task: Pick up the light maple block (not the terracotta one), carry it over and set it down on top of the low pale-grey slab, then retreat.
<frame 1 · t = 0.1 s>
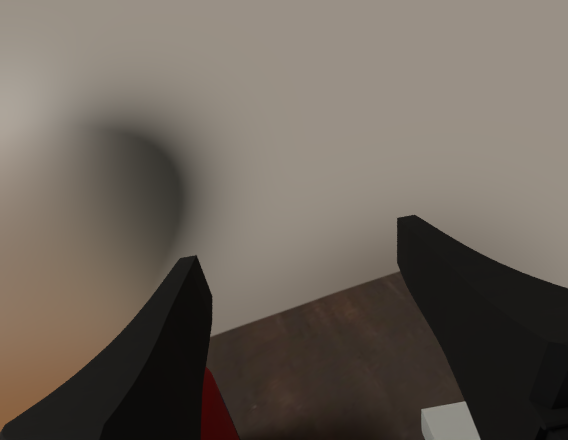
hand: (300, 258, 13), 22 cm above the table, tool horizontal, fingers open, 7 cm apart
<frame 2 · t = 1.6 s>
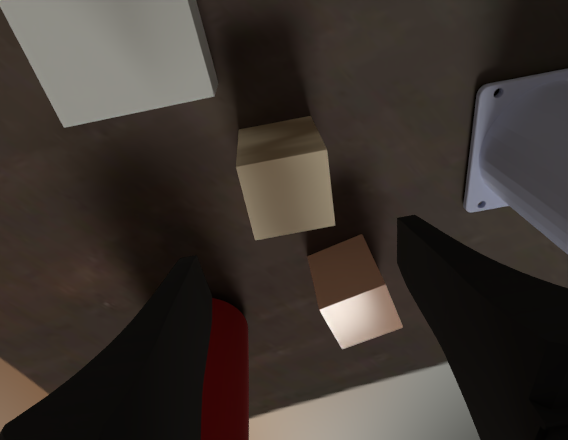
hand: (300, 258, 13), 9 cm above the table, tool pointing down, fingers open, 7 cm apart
terracotta block: (343, 265, 26), on the table
beverage can: (204, 319, 28), on the table
maple block: (280, 156, 21), on the table
grey slab: (125, 20, 17), on the table
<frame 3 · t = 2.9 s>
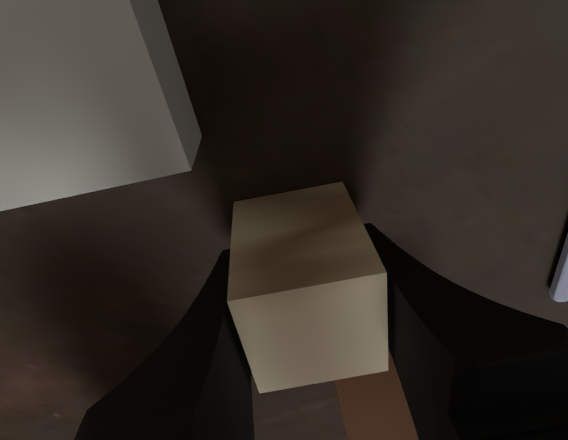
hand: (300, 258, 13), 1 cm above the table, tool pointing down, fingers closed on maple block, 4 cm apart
terracotta block: (377, 362, 19), on the table
maple block: (295, 236, 14), on the table, touching gripper
grey slab: (45, 41, 10), on the table
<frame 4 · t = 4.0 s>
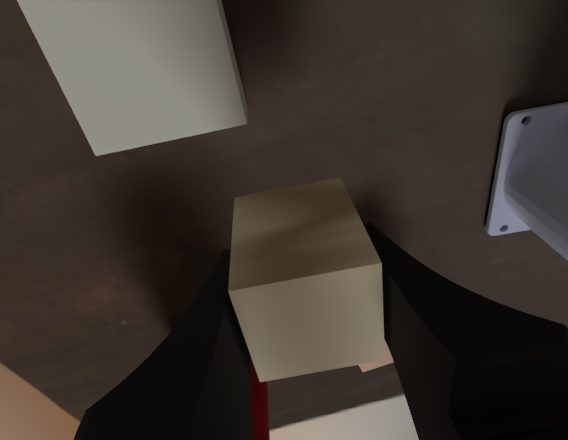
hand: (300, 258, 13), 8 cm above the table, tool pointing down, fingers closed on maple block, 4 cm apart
beverage can: (220, 337, 28), on the table
maple block: (295, 231, 15), point 7 cm above the table, touching gripper
grey slab: (156, 47, 17), on the table
when the fingers open (6 cm above the table, at t = 5.2 s): maple block drops 1 cm, resting on grey slab.
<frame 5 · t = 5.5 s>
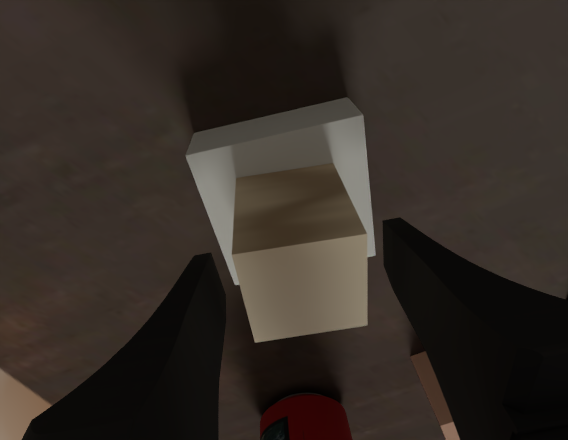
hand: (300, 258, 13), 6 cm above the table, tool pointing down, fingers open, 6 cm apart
terracotta block: (441, 362, 27), on the table
beverage can: (301, 408, 29), on the table
maple block: (290, 211, 16), point 3 cm above the table, touching grey slab
grey slab: (285, 180, 18), on the table, touching maple block
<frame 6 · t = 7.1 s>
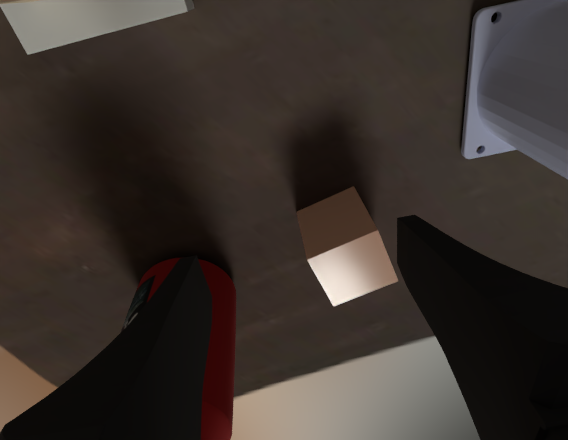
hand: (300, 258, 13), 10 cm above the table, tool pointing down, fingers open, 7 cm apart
terracotta block: (335, 222, 24), on the table
beverage can: (189, 285, 26), on the table
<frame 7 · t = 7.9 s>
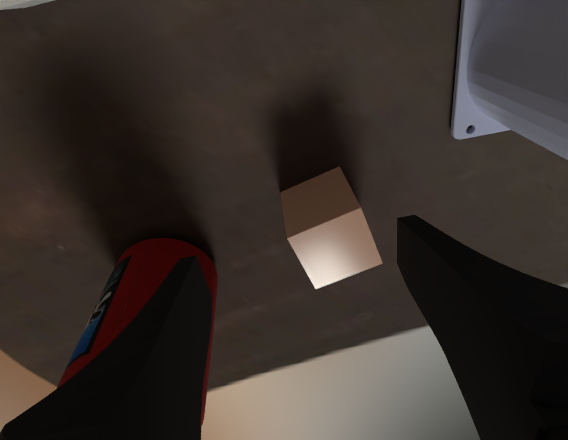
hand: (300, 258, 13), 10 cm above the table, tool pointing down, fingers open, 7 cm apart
terracotta block: (320, 204, 24), on the table
beverage can: (170, 268, 26), on the table
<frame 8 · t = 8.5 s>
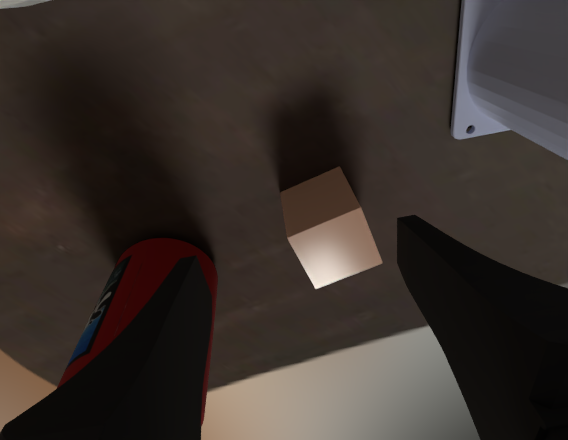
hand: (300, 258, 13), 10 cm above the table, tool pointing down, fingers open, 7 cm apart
terracotta block: (320, 204, 24), on the table
beverage can: (170, 268, 26), on the table
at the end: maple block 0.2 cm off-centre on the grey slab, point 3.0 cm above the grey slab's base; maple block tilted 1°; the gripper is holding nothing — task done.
